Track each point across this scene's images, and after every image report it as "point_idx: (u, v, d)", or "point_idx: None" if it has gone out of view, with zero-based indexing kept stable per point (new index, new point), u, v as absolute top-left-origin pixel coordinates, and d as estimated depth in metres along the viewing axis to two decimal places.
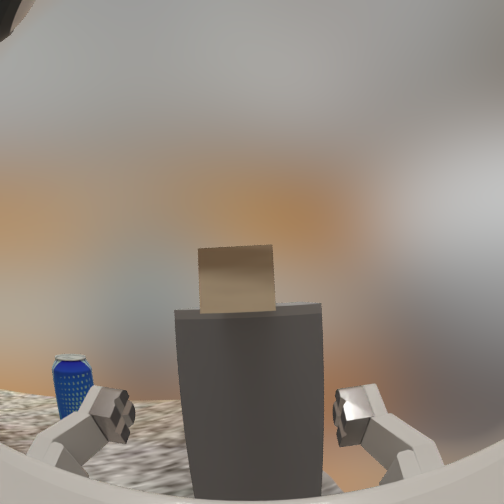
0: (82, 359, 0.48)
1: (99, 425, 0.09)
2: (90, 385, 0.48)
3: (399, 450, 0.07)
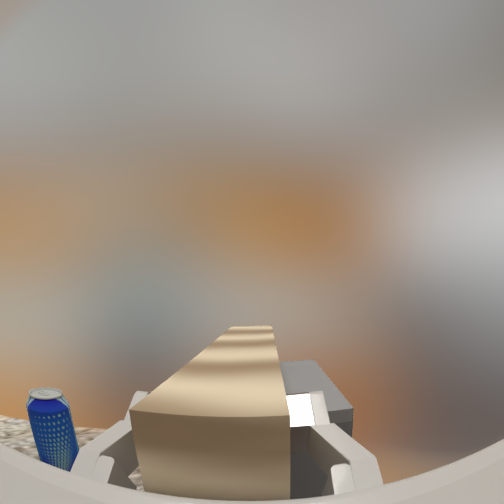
0: (58, 397, 0.38)
1: None
2: (68, 425, 0.38)
3: (339, 462, 0.07)
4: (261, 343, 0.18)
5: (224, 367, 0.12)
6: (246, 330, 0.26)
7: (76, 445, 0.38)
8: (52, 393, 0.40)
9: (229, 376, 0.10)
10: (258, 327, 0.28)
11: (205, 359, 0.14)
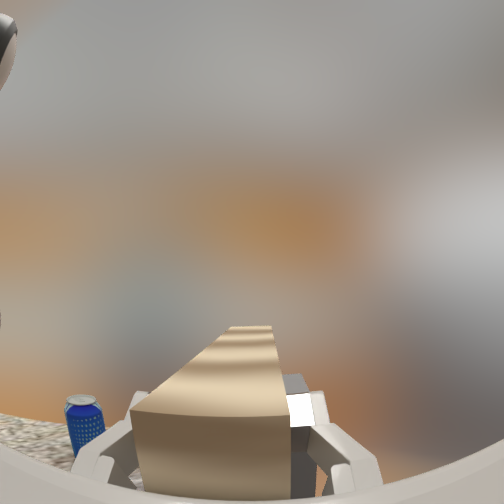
0: (93, 402, 0.49)
1: None
2: (101, 425, 0.48)
3: (339, 462, 0.07)
4: (261, 343, 0.18)
5: (224, 367, 0.12)
6: (246, 330, 0.26)
7: None
8: (87, 399, 0.50)
9: (229, 376, 0.10)
10: (258, 327, 0.29)
11: (205, 359, 0.14)
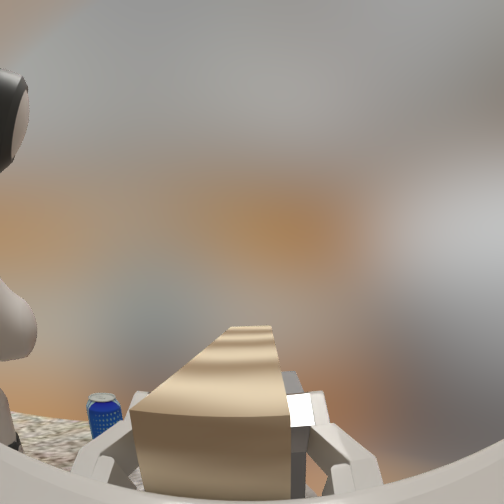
0: (113, 399, 0.57)
1: None
2: (120, 419, 0.57)
3: (339, 462, 0.07)
4: (261, 343, 0.18)
5: (224, 367, 0.12)
6: (245, 330, 0.26)
7: None
8: (107, 397, 0.58)
9: (229, 376, 0.10)
10: (257, 327, 0.28)
11: (205, 359, 0.14)
